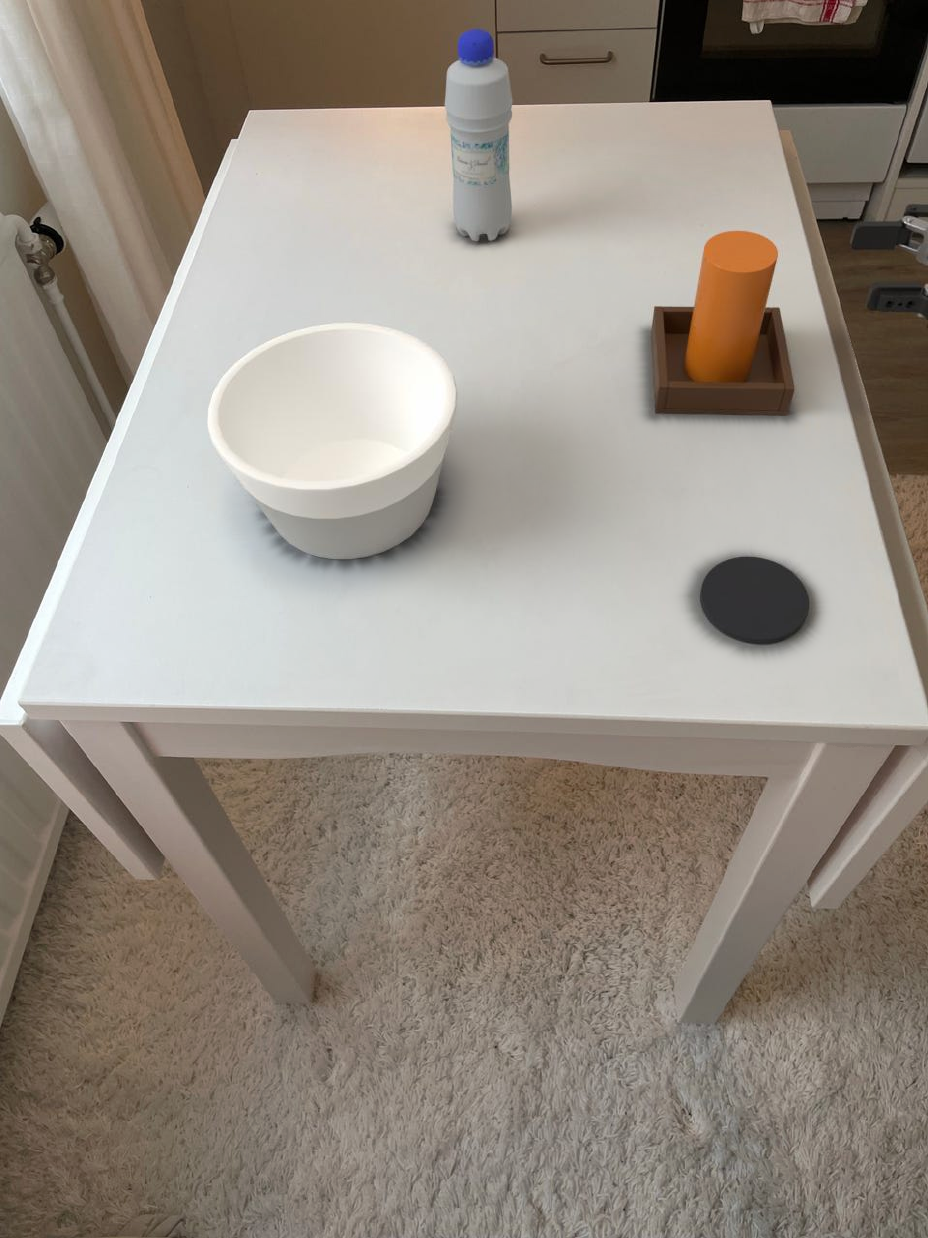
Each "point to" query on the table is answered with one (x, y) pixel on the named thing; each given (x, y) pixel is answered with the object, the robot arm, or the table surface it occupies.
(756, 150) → the table surface
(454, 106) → the bottle
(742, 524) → the table surface
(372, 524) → the bowl
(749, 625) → the coaster
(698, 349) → the orange cylinder
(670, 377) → the tray
